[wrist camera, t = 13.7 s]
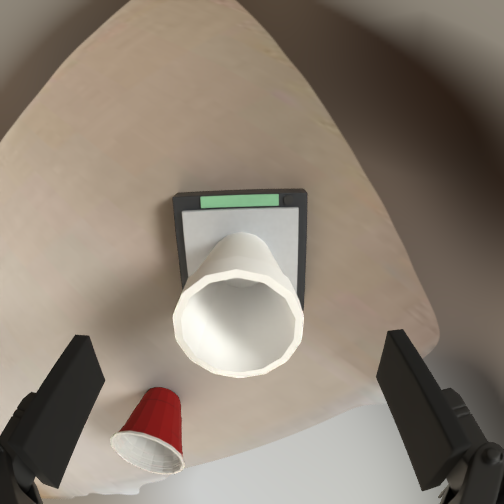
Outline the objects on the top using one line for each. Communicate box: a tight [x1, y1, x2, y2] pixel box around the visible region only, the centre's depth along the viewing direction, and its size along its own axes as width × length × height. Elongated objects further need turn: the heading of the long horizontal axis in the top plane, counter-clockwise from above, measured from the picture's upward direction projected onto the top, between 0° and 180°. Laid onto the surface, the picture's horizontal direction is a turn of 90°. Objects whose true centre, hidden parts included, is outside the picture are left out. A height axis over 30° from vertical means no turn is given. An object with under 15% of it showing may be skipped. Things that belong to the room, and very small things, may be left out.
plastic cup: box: [110, 387, 185, 474], centre depth 41 cm, size 11×11×12 cm
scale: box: [173, 189, 307, 311], centre depth 36 cm, size 14×14×3 cm
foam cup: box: [172, 232, 304, 378], centre depth 29 cm, size 10×9×13 cm
